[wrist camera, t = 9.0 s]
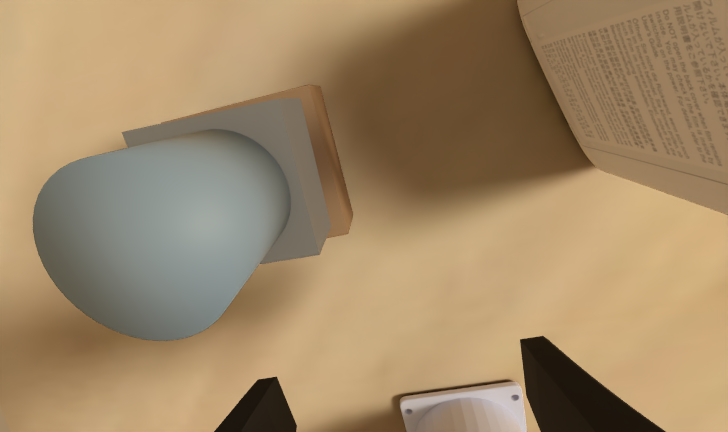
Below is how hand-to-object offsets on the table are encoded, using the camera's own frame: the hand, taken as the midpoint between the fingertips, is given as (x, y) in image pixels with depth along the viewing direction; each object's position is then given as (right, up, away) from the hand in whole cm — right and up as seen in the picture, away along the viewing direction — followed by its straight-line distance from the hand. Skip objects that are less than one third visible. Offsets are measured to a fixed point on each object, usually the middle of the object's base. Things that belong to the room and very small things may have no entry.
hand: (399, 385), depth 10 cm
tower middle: (-6, +7, +6) cm, 11 cm away
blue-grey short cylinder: (-6, +6, +3) cm, 9 cm away
